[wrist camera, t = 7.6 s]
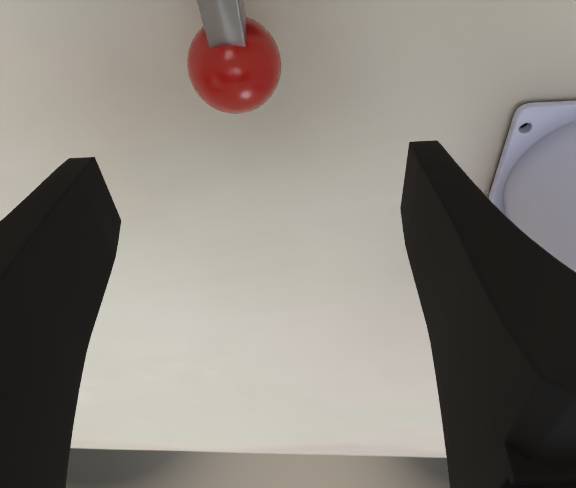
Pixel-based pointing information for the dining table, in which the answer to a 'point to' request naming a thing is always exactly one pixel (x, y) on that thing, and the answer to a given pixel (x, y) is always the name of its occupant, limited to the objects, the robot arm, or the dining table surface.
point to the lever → (232, 58)
